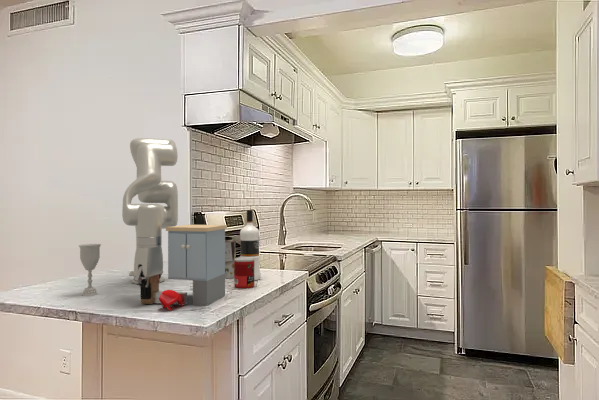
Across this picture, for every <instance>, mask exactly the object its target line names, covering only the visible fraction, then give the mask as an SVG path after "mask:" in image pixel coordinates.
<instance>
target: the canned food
mask: <svg viewBox="0 0 599 400" xmlns="http://www.w3.org/2000/svg"><path fill="white" fill-rule="evenodd" d="M233 280H234V282H233V285H234V288H236V289H243V290H244V289H245V290H246V289H251V288H254V287H255V281H254V258H240V257H236V259H234V278H233Z"/></svg>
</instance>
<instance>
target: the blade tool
mask: <svg viewBox="0 0 599 400" xmlns="http://www.w3.org/2000/svg"><path fill="white" fill-rule="evenodd" d="M143 277H144V276H143ZM144 281H145V282H146V279H144ZM159 284H160V282H159V274H157V275H154V276H151V277H150V279H149V287H150V299H141V298H140V303H141V304H143V305H144V304H146V305H153V304H161V302H160V301H159V297H160V295H161V293H162V292H163V291H164V290H163V291H161V290H160V285H159ZM159 290H160V291H159ZM176 292H177V293H179V294H180V296H181V298H182V301H181V303H182V305H184V306H185V305H186V304H188V292H185V291H183V292H182V291H181V292H180V291H176ZM172 305H180V304H179V303H178V302H177V301H176V302H175V303H173V304H172Z"/></svg>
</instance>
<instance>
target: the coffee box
mask: <svg viewBox="0 0 599 400" xmlns="http://www.w3.org/2000/svg"><path fill="white" fill-rule="evenodd" d="M236 252H237V251H236V239H225V279H234V259H236V258H237V257H236Z"/></svg>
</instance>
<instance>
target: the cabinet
mask: <svg viewBox="0 0 599 400" xmlns="http://www.w3.org/2000/svg"><path fill="white" fill-rule="evenodd" d="M226 229H228V225H227V224H183V225H176V226H172V227H166V229H165V232H167V254H168V255H167V265H168V266H167V273H168V274H167V277H168V278H167V279H168V280H176V281H177V280H178V281H181V280H182V281H192V306H209V305H211V304H212V303H214V302H217V301H218V300H220V299H222V298H224V297H225V296H226V278H225V240H226Z"/></svg>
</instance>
